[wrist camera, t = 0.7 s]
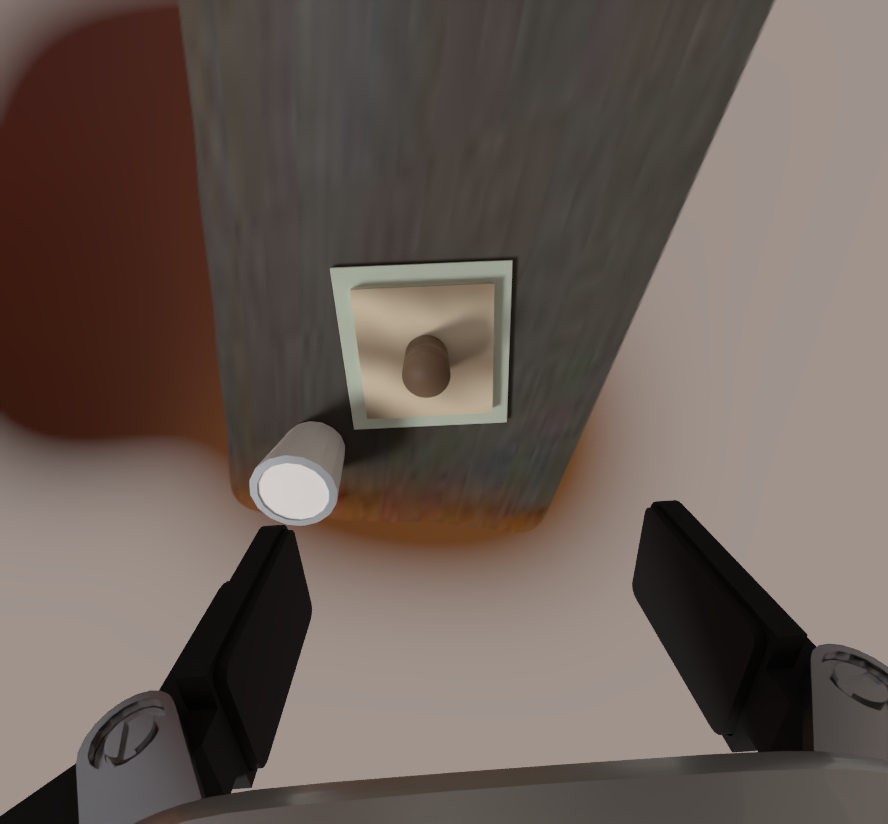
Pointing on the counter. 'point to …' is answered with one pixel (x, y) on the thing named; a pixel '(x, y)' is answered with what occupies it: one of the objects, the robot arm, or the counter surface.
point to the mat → (421, 276)
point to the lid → (425, 348)
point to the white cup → (300, 475)
